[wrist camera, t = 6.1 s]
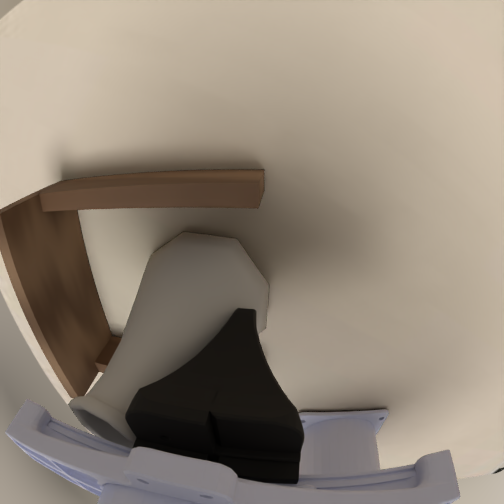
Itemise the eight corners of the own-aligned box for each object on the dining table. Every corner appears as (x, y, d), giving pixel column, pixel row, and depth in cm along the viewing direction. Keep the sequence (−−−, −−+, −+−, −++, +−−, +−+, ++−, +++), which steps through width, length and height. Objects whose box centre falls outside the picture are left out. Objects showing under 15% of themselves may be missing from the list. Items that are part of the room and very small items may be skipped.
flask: (285, 336, 16) (232, 500, 8) (181, 339, 19) (101, 457, 10) (250, 215, 14) (118, 374, 5) (136, 241, 16) (6, 345, 8)
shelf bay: (262, 365, 19) (252, 439, 14) (105, 343, 21) (70, 397, 15) (264, 169, 14) (248, 206, 8) (60, 180, 15) (-10, 214, 10)
